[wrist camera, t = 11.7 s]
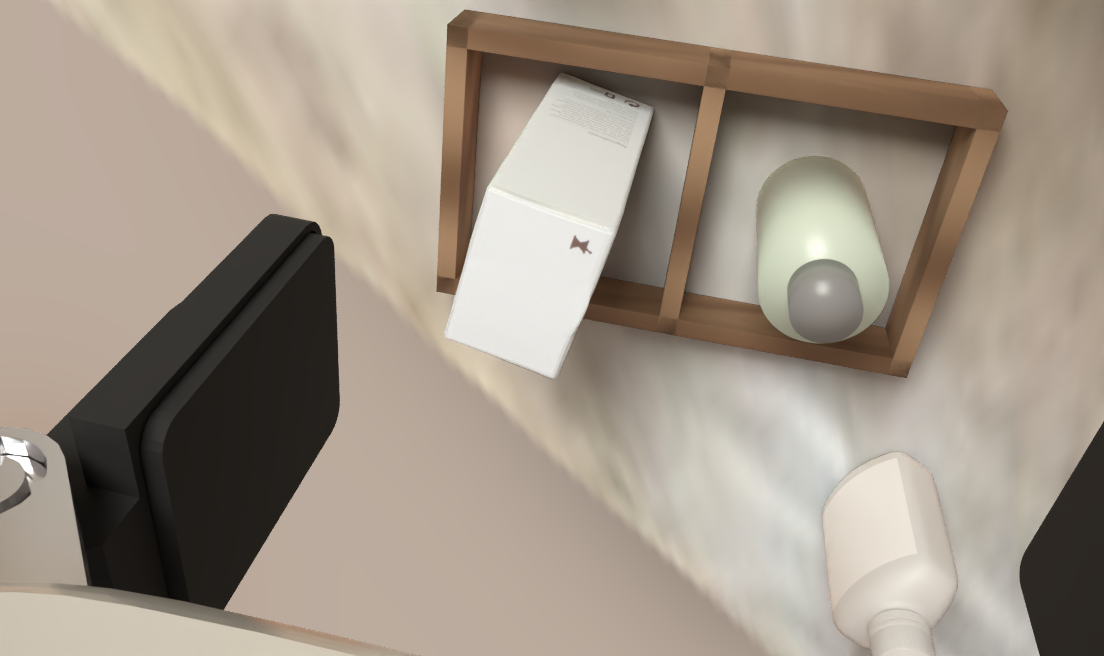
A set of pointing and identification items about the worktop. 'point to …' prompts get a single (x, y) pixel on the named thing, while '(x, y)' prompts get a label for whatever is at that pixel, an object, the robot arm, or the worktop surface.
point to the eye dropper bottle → (888, 556)
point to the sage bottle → (818, 252)
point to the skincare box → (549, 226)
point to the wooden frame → (716, 72)
